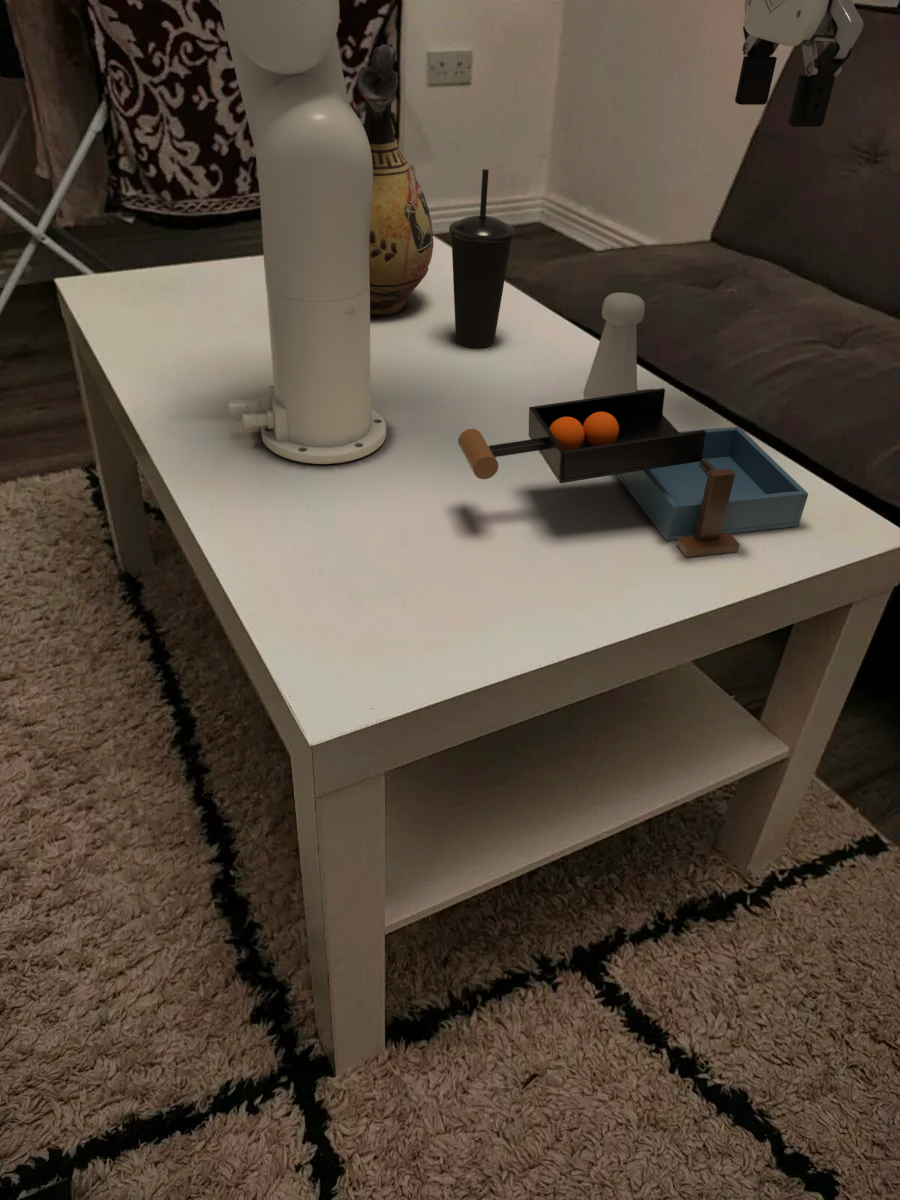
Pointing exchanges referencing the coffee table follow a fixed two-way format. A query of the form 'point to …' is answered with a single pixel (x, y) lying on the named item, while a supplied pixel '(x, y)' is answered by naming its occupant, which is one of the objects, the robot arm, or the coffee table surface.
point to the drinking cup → (479, 273)
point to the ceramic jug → (392, 196)
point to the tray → (755, 495)
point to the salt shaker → (616, 348)
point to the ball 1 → (568, 433)
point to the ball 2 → (600, 429)
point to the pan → (635, 449)
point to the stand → (711, 515)
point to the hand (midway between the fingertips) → (776, 114)
